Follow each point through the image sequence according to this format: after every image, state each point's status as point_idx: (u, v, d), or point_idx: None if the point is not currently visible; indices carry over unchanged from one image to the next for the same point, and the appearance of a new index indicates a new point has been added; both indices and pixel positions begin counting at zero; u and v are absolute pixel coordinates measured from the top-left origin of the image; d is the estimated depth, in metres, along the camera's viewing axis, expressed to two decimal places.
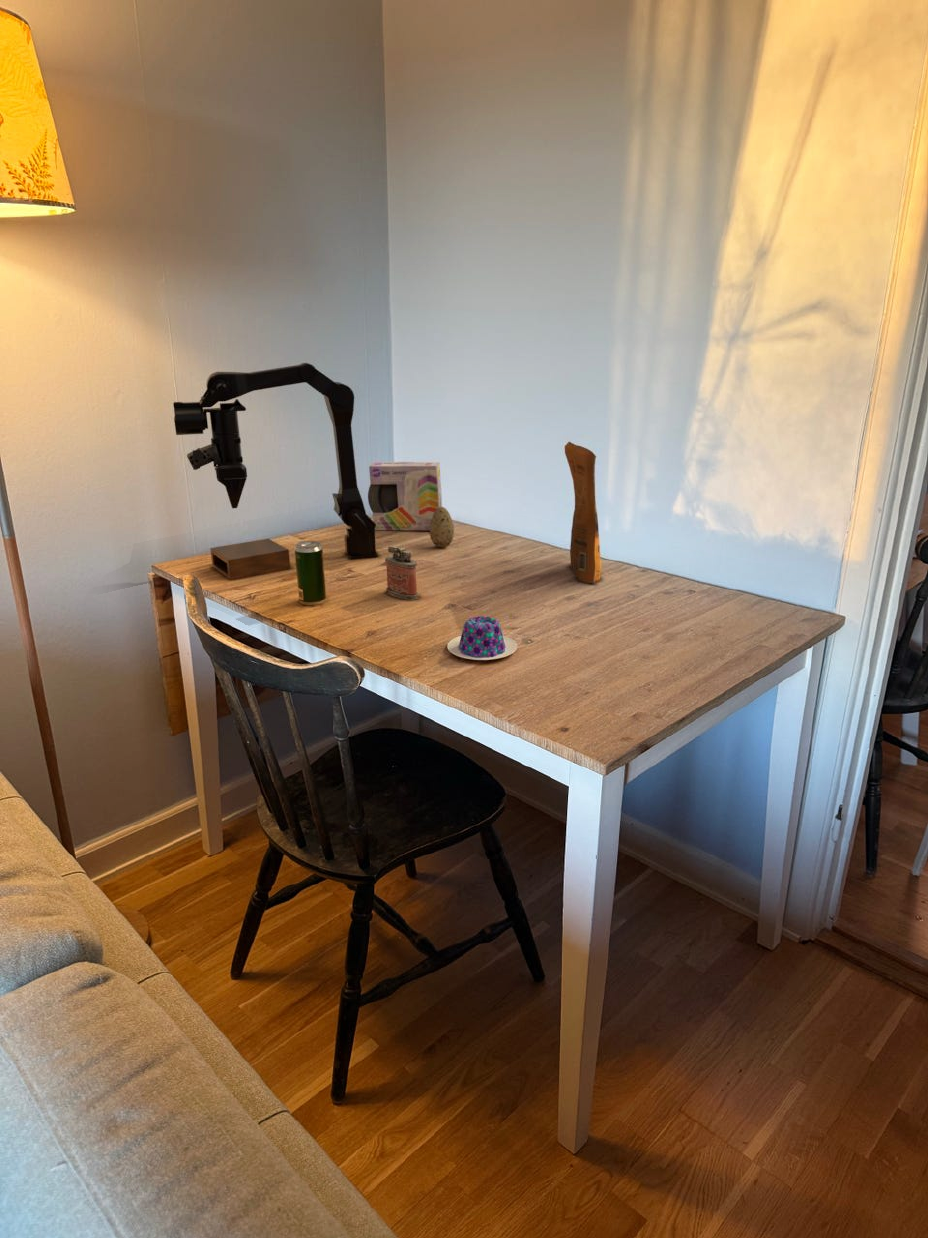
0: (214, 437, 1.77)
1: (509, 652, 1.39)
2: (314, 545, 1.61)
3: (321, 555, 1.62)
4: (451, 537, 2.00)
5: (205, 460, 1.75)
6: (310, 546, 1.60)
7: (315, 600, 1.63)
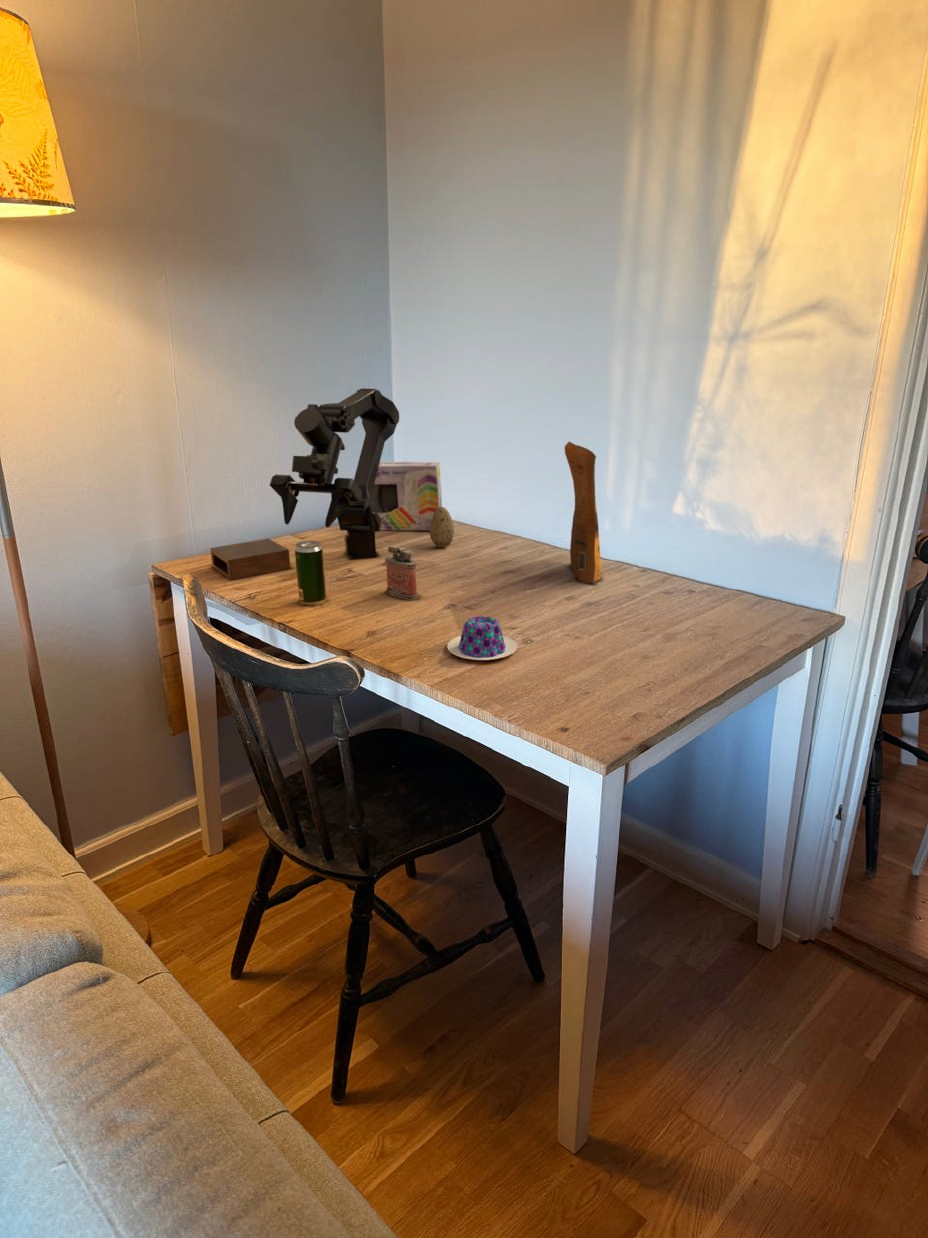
0: None
1: (509, 652, 1.39)
2: (314, 545, 1.61)
3: (321, 555, 1.62)
4: (451, 537, 2.00)
5: (327, 468, 1.67)
6: (310, 546, 1.60)
7: (315, 600, 1.63)
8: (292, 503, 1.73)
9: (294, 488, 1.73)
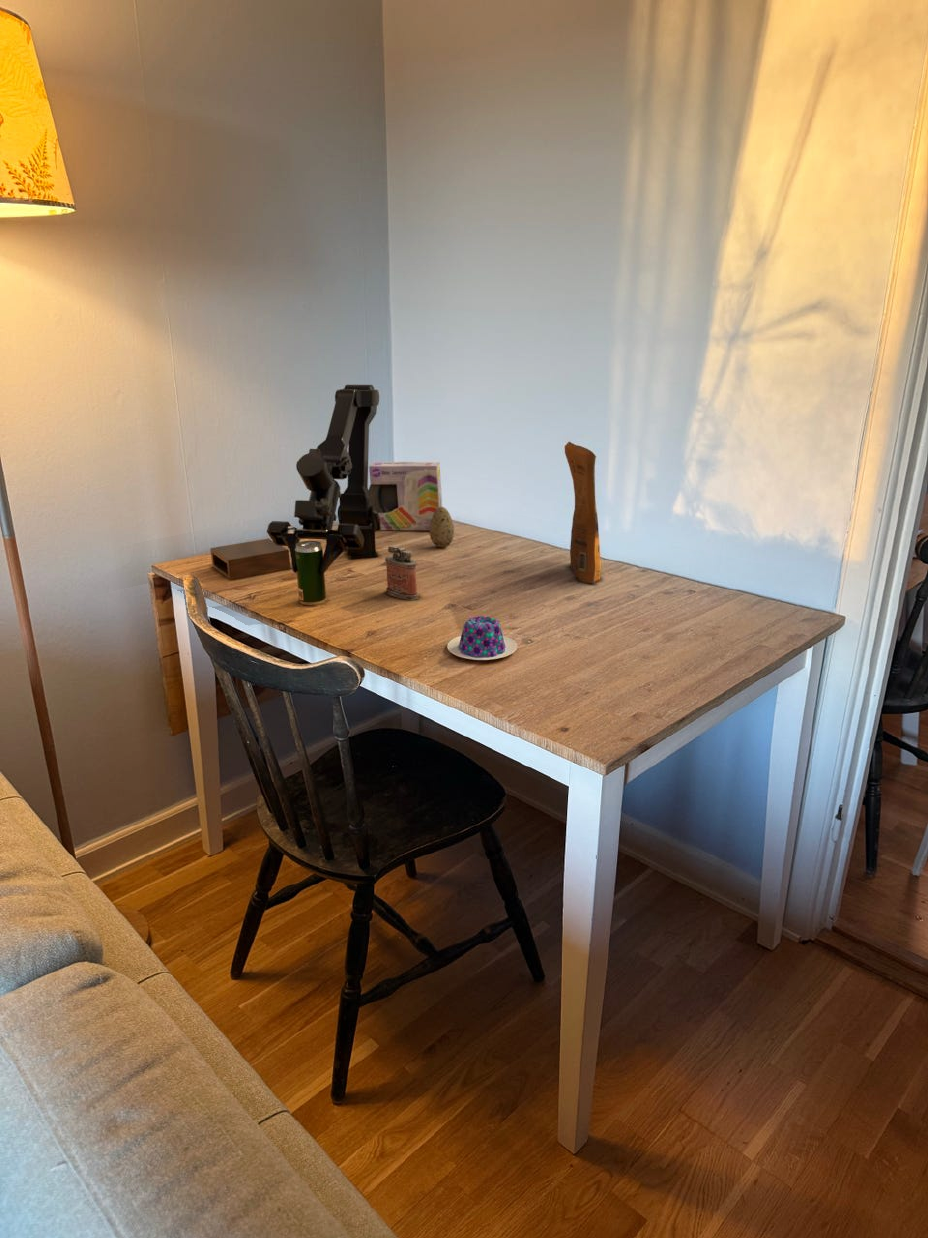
0: None
1: (509, 652, 1.39)
2: (314, 545, 1.61)
3: (321, 555, 1.62)
4: (451, 537, 2.00)
5: (331, 513, 1.61)
6: (310, 546, 1.60)
7: (315, 600, 1.63)
8: None
9: None
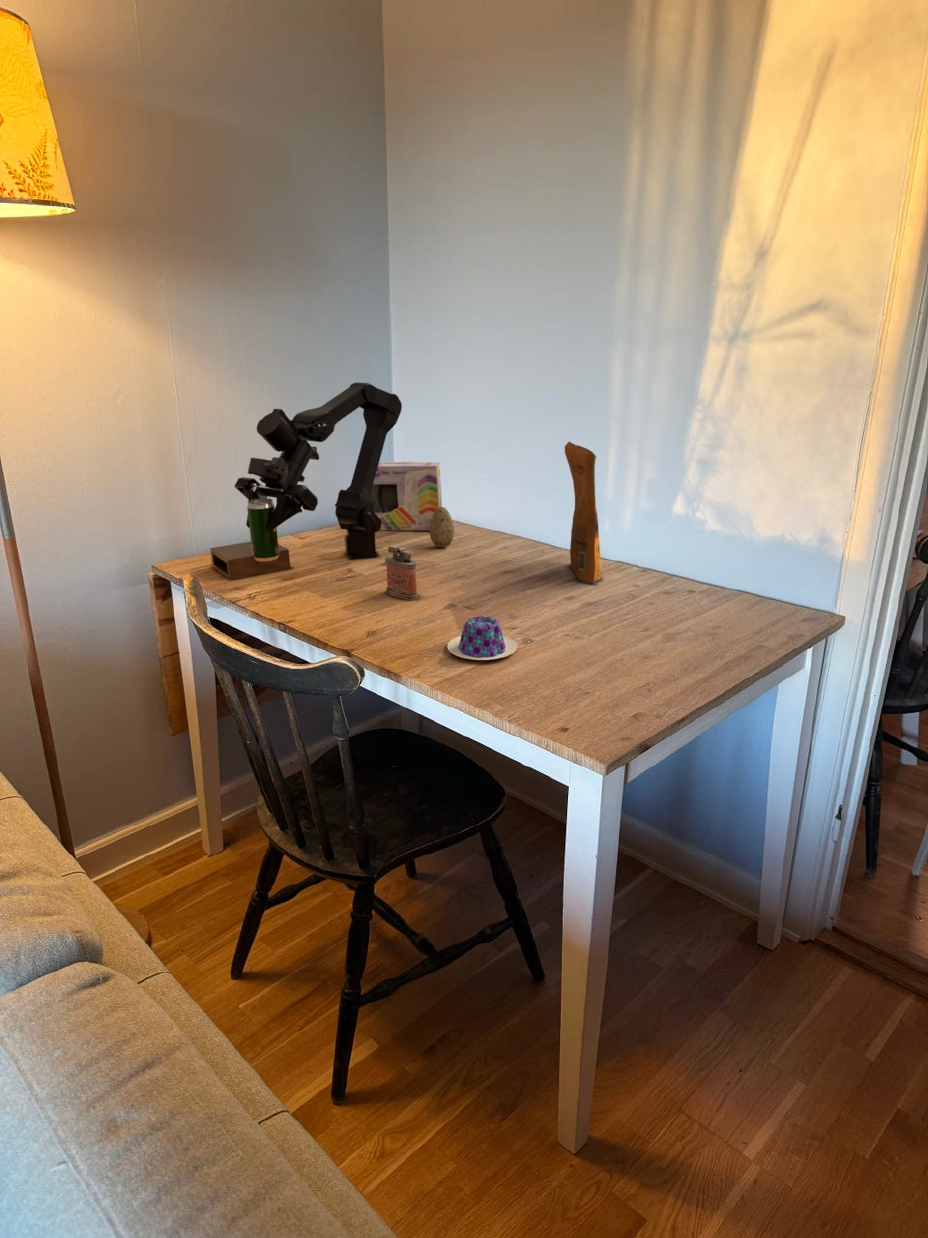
0: (287, 461, 1.69)
1: (509, 652, 1.39)
2: (262, 502, 1.65)
3: (270, 513, 1.66)
4: (451, 537, 2.00)
5: (282, 473, 1.64)
6: (258, 503, 1.65)
7: (263, 556, 1.68)
8: None
9: None
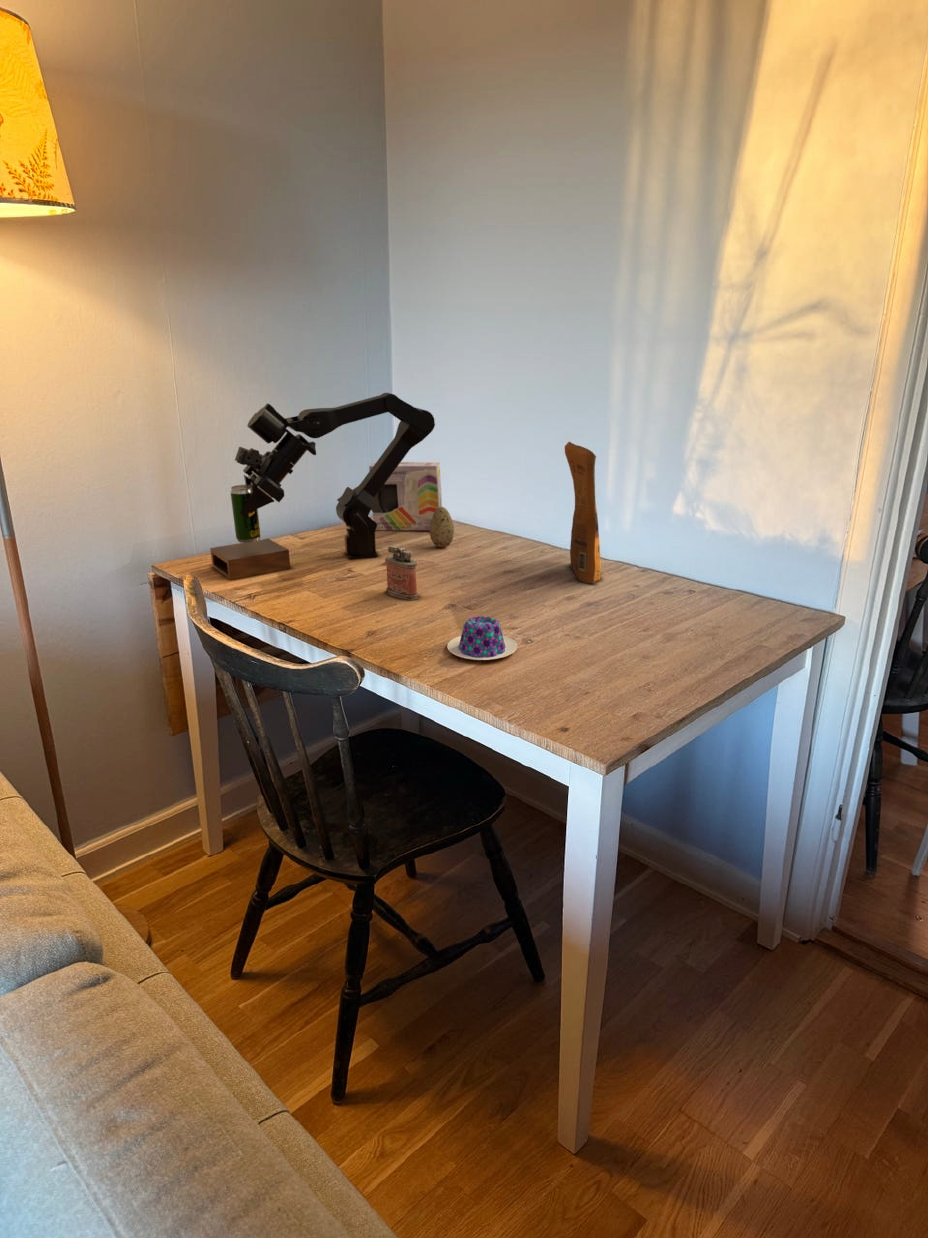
0: (274, 453, 1.80)
1: (509, 652, 1.39)
2: (239, 488, 1.79)
3: (244, 499, 1.79)
4: (451, 537, 2.00)
5: (255, 463, 1.76)
6: (236, 488, 1.80)
7: (239, 537, 1.83)
8: None
9: None
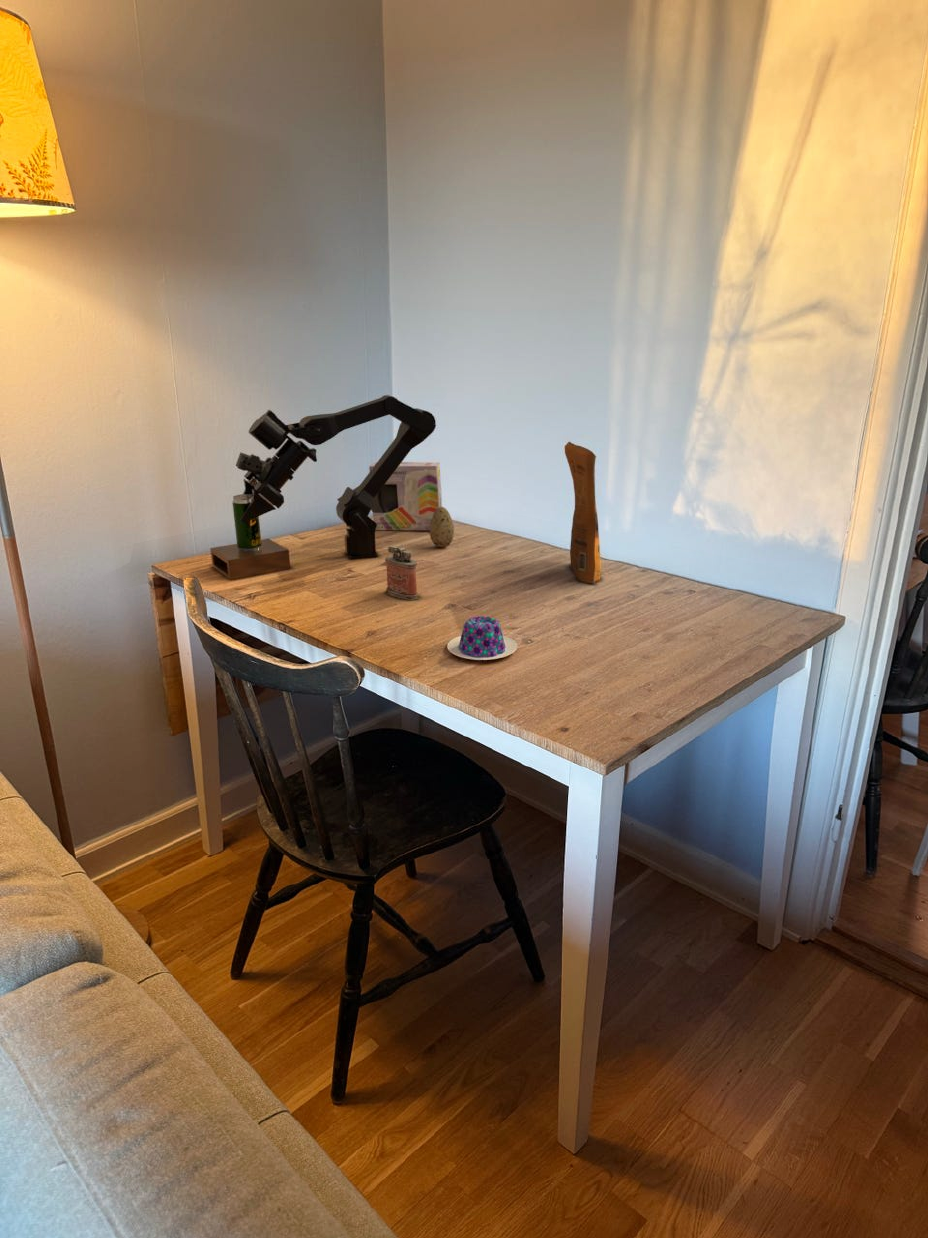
0: (275, 459, 1.81)
1: (509, 652, 1.39)
2: (241, 498, 1.81)
3: (246, 508, 1.81)
4: (451, 537, 2.00)
5: (255, 469, 1.77)
6: (237, 498, 1.81)
7: (240, 546, 1.84)
8: None
9: None
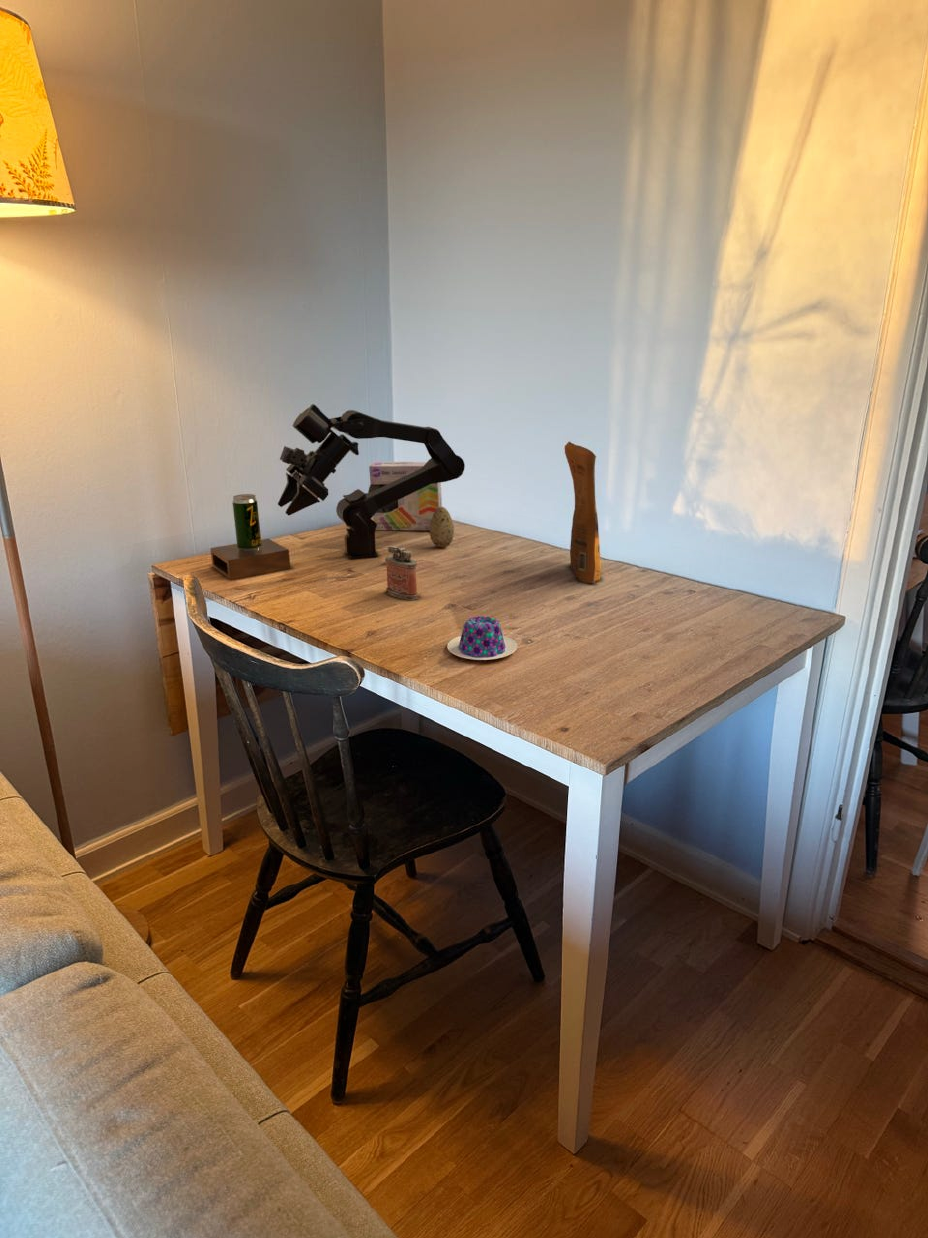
0: (318, 453, 1.84)
1: (509, 652, 1.39)
2: (241, 498, 1.81)
3: (246, 508, 1.81)
4: (451, 537, 2.00)
5: (300, 462, 1.80)
6: (237, 498, 1.81)
7: (240, 546, 1.84)
8: (295, 490, 1.91)
9: (300, 478, 1.90)
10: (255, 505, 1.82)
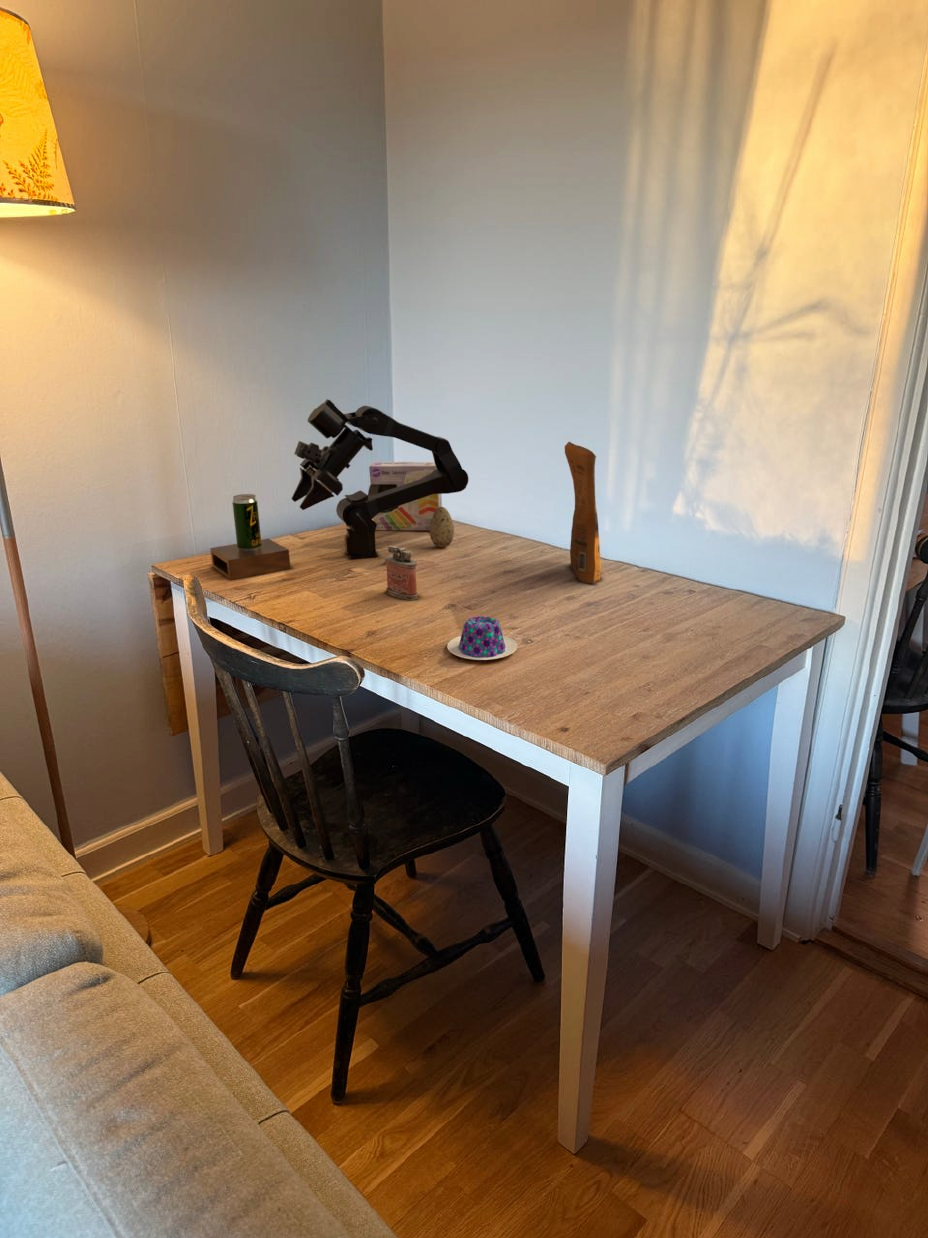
0: (332, 448, 1.85)
1: (509, 652, 1.39)
2: (241, 498, 1.81)
3: (246, 508, 1.81)
4: (451, 537, 2.00)
5: (315, 457, 1.81)
6: (237, 498, 1.81)
7: (240, 546, 1.84)
8: (308, 485, 1.92)
9: (314, 473, 1.91)
10: (255, 505, 1.82)
